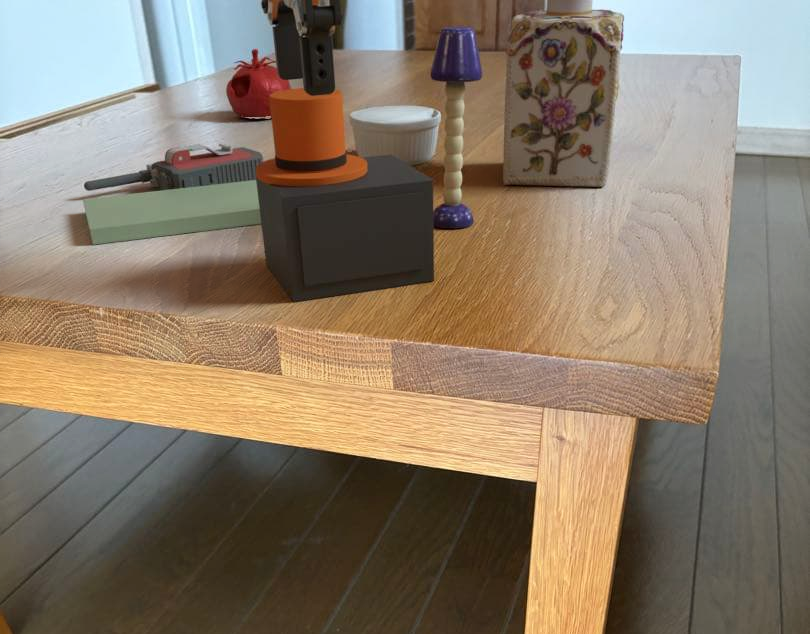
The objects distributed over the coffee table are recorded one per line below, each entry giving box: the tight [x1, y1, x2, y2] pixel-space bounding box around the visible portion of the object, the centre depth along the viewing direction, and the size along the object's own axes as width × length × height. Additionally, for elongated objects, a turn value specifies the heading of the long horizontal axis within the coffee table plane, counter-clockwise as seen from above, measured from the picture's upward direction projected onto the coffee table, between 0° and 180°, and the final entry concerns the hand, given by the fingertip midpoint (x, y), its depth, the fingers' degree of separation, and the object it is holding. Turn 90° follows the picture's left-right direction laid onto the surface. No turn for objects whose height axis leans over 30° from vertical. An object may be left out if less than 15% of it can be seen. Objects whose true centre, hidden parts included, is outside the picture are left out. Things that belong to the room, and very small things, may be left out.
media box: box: [255, 155, 435, 303], centre depth 73 cm, size 12×10×8 cm
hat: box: [255, 87, 368, 187], centre depth 70 cm, size 9×9×6 cm
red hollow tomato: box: [225, 48, 292, 117], centre depth 135 cm, size 10×10×9 cm
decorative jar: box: [502, 0, 625, 188], centre depth 96 cm, size 12×12×18 cm
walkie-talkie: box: [83, 142, 264, 192], centre depth 100 cm, size 9×4×20 cm
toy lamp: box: [430, 26, 483, 229], centre depth 82 cm, size 5×5×17 cm
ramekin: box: [349, 105, 442, 167], centre depth 109 cm, size 11×11×5 cm
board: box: [82, 180, 261, 246], centre depth 91 cm, size 20×12×2 cm, turn 110°
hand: (305, 86), depth 68 cm, fingers open, 8 cm apart
